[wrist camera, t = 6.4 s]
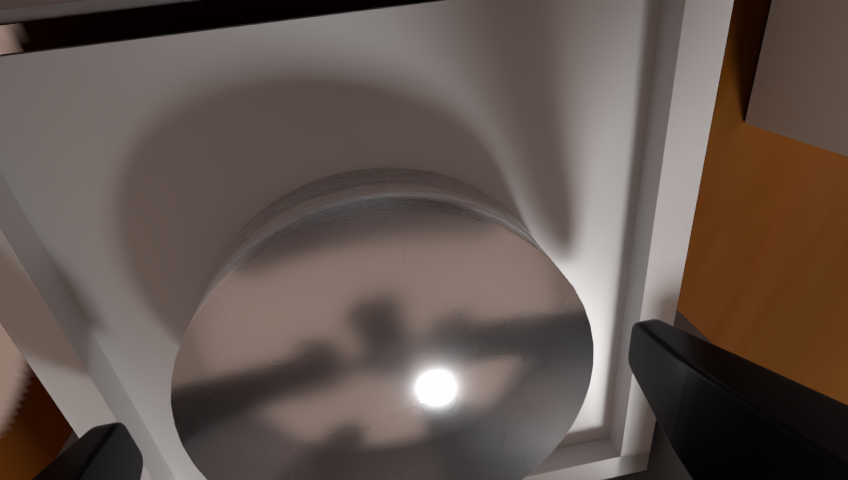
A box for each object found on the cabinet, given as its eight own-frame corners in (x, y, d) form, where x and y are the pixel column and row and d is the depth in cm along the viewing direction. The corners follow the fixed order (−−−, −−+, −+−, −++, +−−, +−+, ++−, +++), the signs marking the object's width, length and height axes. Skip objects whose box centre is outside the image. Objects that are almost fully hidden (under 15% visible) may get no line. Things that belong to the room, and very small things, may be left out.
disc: (553, 141, 8) (611, 177, 7) (544, 416, 12) (581, 490, 10) (146, 200, 8) (89, 258, 6) (257, 476, 11) (242, 566, 9)
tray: (648, 397, 14) (801, 597, 10) (145, 501, 13) (33, 793, 8) (744, -166, 8) (1349, -405, 3) (-221, -70, 7) (-1621, -225, 2)
